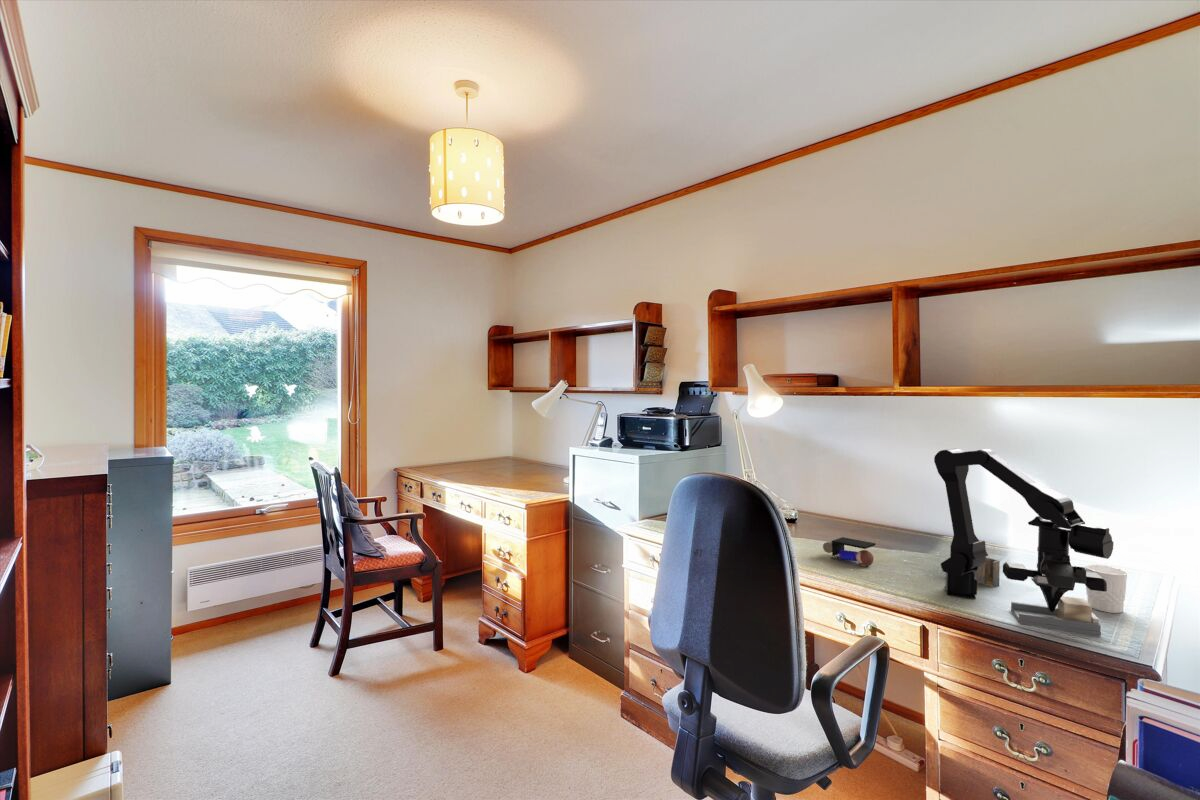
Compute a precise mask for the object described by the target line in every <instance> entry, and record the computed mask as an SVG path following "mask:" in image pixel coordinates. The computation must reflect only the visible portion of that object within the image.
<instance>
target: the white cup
mask: <svg viewBox="0 0 1200 800" xmlns="http://www.w3.org/2000/svg"><path fill="white" fill-rule="evenodd" d="M1084 568H1085V570H1086V572H1094V573H1097V574H1098V575H1100V576H1101V577H1102V578H1103V579H1104V580H1105V581H1106V583H1107V591H1105V592H1104V591H1096V590H1090V589H1089V588H1088V587H1087V586H1085V587H1086V588H1085V589H1086V595H1087V600H1086V601H1087V602H1088V603H1089V604H1090V605H1091V606H1092V609H1095V610H1097V611H1101V612H1105V613H1111V614H1121V613H1123V612H1124V606H1125V605H1124V604H1125V603H1124V602H1125V600H1126V599H1125V598H1126V591H1127V579H1128V572H1127V571H1126V570H1124V569H1121V568H1117V567H1113V566H1109V565H1103V564H1095V563H1094V564H1086V565H1085V567H1084Z"/></svg>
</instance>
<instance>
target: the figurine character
mask: <svg viewBox="0 0 1200 800" xmlns="http://www.w3.org/2000/svg"><path fill="white" fill-rule="evenodd" d="M845 546H848V547H853V548H859V549H861V550H859V551H856V550H855V551H853V550H846V549H845ZM874 546H876V542H871V541H865V540H860V539H855V538H850V537H849V538H848V537H844V536H842V537H840V538H836V539H833V540H831V541H827V542H824V543H823V545H822V549H823V551H824V552H826V553H827V554H831V553H832V555H831V556H830V558H831V559H833V560H844V561H849V562H850V561H851V562H857V563H858V564H859V566H862V567H869V566H871V565H872V564H873V562H874V555H873V554H872V552H871V551H869V550H867V549H869V548H872V547H874ZM865 549H866V550H865Z"/></svg>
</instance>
